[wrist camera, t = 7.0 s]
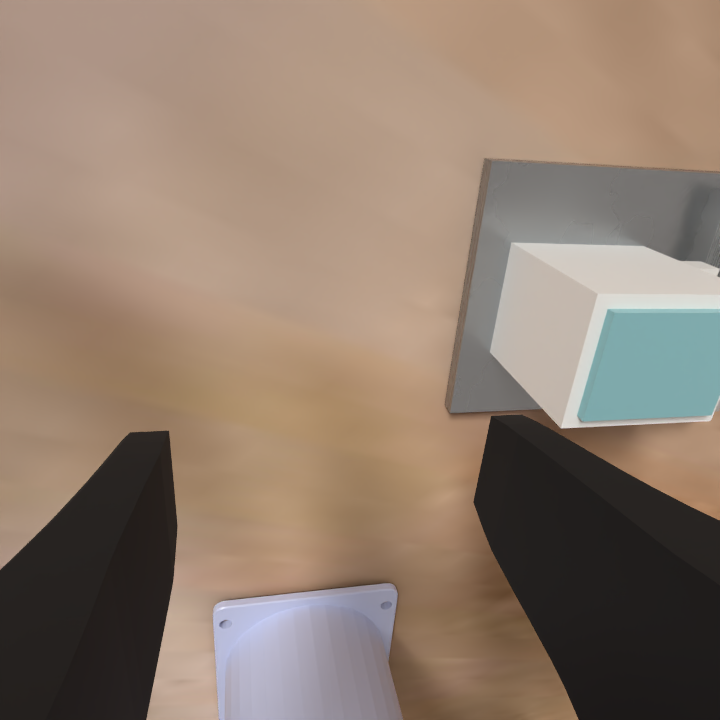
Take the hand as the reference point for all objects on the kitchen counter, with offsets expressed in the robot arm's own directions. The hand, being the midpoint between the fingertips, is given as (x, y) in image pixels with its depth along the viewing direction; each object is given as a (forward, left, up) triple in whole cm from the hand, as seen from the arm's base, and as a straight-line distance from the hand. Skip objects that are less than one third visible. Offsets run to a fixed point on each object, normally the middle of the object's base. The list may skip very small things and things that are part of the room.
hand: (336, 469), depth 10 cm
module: (0, -10, -9) cm, 13 cm away
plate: (0, -12, -9) cm, 15 cm away
